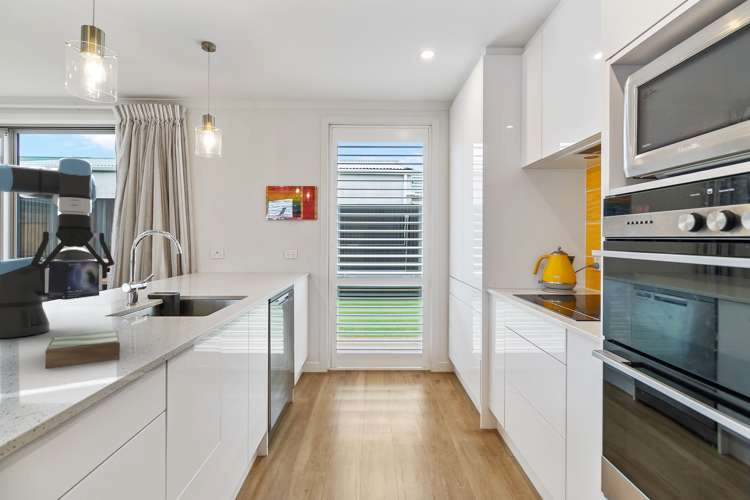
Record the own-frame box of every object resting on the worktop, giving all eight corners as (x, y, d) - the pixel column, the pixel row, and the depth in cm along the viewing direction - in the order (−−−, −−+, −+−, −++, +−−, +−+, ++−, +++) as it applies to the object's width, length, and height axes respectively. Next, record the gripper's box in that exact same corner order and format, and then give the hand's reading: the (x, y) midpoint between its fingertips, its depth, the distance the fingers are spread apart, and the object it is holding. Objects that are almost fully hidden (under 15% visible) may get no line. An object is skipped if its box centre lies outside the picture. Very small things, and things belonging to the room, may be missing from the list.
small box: (66, 300, 105) (66, 261, 105) (46, 299, 107) (46, 260, 107) (100, 295, 116) (101, 260, 116) (82, 294, 117) (82, 259, 117)
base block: (52, 352, 101) (52, 336, 101) (117, 345, 109) (117, 330, 109) (45, 368, 88) (45, 349, 88) (119, 358, 96) (119, 341, 96)
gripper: (16, 210, 101) (16, 295, 101) (125, 215, 115) (124, 290, 115) (21, 212, 107) (21, 292, 108) (124, 216, 121) (123, 287, 121)
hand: (74, 291), depth 111 cm, fingers closed on small box, 11 cm apart
